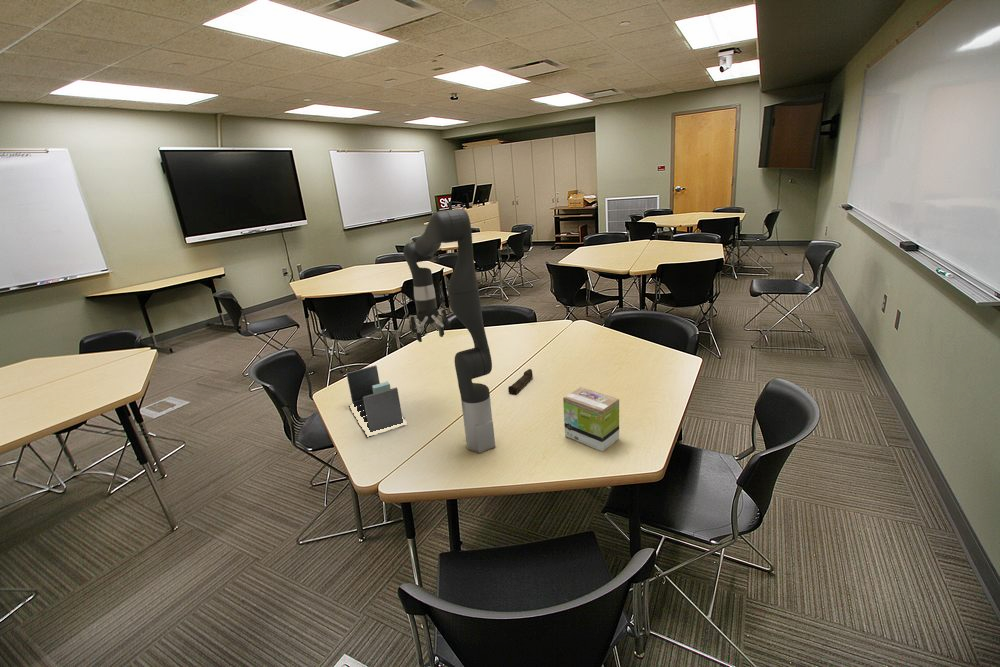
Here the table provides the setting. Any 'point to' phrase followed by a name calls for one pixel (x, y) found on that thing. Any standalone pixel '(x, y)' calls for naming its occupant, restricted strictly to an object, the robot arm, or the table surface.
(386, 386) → the tall pale blue pillar
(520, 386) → the hand tool
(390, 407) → the rack
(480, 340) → the robot arm
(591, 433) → the tea box
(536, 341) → the table surface
